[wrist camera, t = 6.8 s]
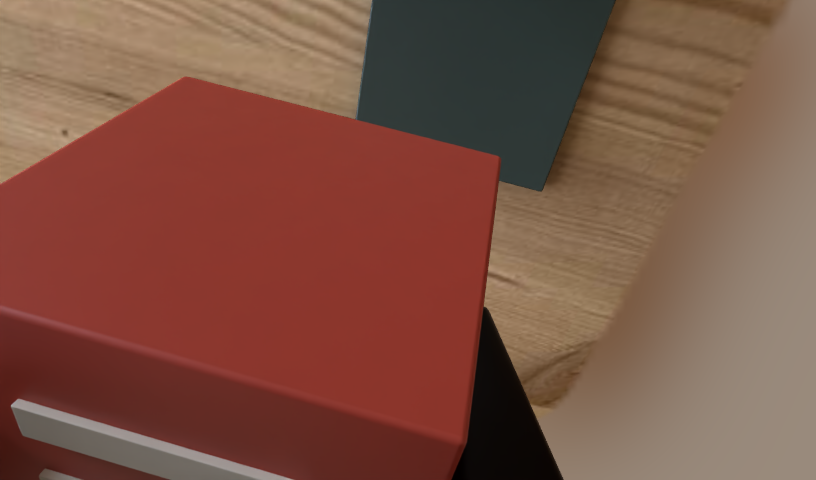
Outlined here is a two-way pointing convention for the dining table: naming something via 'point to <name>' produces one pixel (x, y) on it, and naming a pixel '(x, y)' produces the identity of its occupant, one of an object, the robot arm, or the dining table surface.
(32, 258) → the white-striped red block
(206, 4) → the dining table surface
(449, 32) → the white cube on base
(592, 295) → the dining table surface
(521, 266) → the dining table surface
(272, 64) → the dining table surface
